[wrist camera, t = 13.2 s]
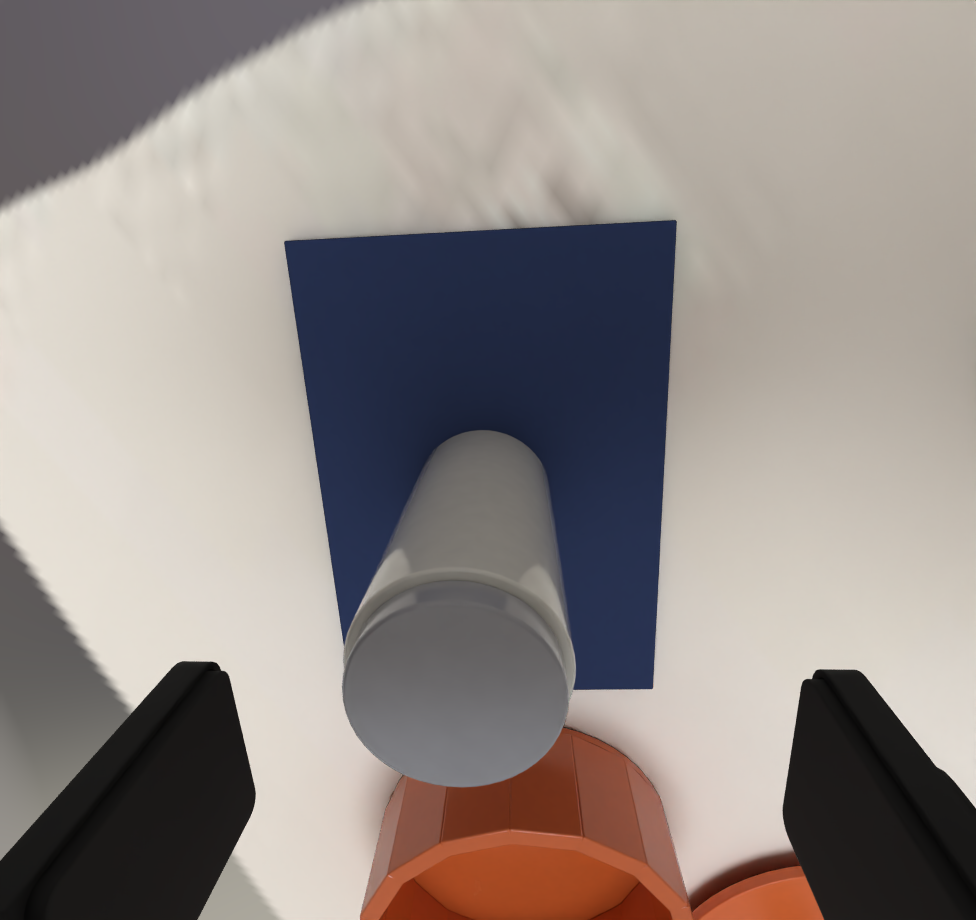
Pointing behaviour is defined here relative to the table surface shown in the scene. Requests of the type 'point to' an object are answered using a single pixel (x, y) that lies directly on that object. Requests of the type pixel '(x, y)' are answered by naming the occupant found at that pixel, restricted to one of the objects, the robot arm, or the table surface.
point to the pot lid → (764, 899)
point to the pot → (530, 845)
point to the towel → (500, 399)
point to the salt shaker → (465, 622)
